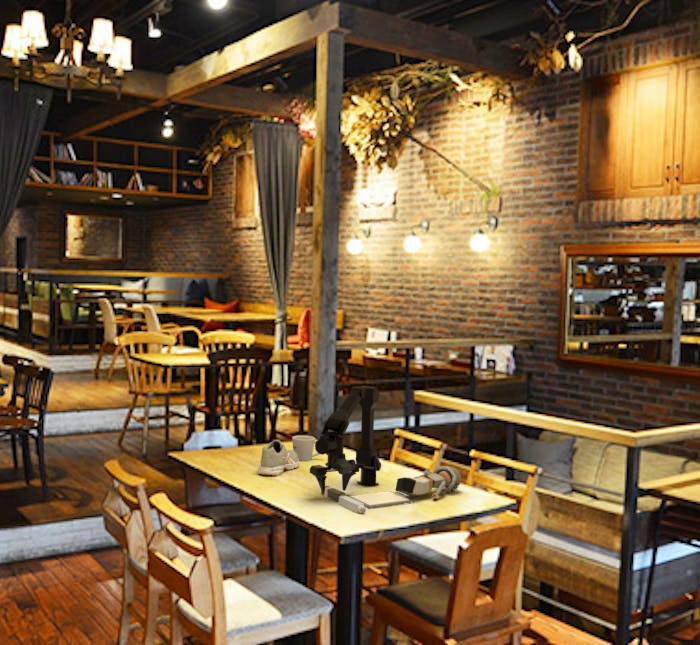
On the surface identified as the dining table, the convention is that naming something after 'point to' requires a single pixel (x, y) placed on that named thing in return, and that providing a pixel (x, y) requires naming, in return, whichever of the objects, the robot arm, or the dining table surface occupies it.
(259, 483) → the dining table surface
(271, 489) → the dining table surface
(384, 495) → the whiteboard
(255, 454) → the dining table surface
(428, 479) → the toy
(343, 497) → the pale blue marker
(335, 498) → the black marker
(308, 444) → the mug
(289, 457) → the running shoe
